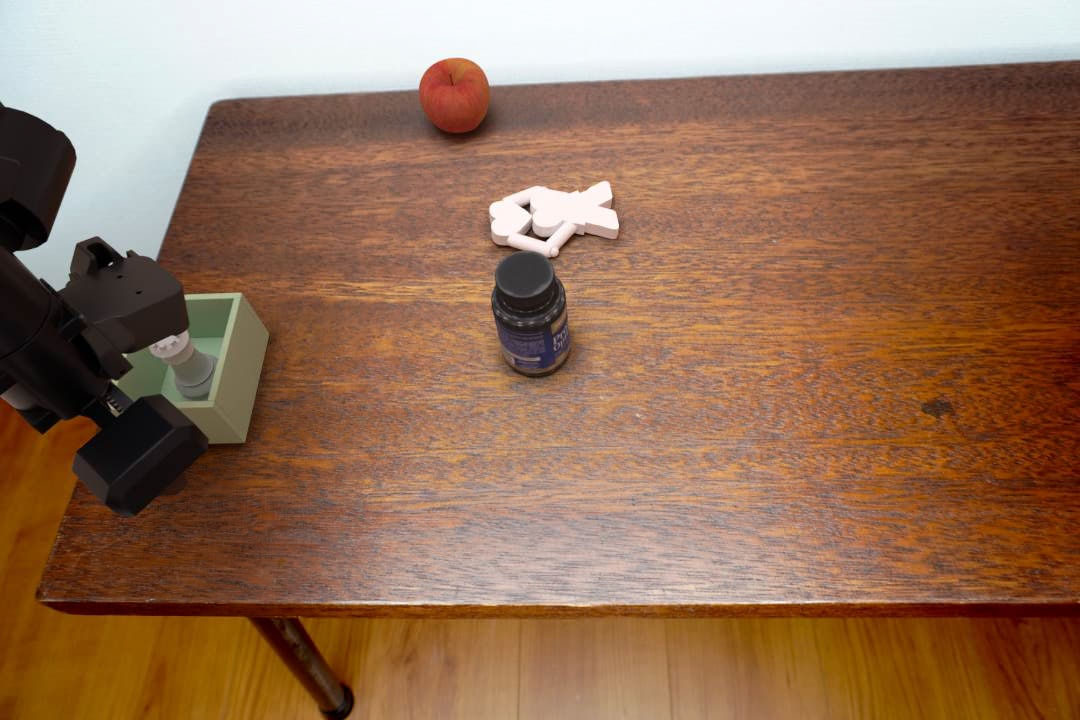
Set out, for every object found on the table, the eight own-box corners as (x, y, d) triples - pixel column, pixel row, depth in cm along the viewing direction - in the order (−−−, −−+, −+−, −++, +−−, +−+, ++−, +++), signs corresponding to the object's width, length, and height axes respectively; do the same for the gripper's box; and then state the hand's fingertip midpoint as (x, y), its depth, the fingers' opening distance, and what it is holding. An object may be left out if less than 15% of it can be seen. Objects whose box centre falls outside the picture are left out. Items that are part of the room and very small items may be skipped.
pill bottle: (571, 377, 71) (563, 304, 62) (501, 379, 71) (483, 307, 62) (570, 318, 74) (563, 240, 65) (503, 321, 75) (487, 244, 65)
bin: (245, 443, 70) (212, 407, 65) (142, 445, 71) (101, 410, 65) (269, 333, 76) (241, 292, 70) (174, 336, 77) (139, 295, 71)
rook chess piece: (190, 360, 74) (146, 311, 68) (236, 362, 74) (197, 312, 67) (174, 404, 72) (128, 357, 65) (222, 406, 72) (180, 358, 65)
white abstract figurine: (486, 195, 82) (486, 180, 80) (604, 187, 83) (606, 172, 81) (494, 264, 77) (494, 249, 76) (619, 254, 78) (622, 240, 77)
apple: (486, 93, 91) (475, 32, 84) (502, 138, 87) (492, 77, 80) (421, 110, 90) (405, 49, 83) (435, 155, 86) (419, 95, 79)
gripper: (223, 304, 42) (317, 440, 56) (36, 158, 50) (158, 308, 63) (38, 458, 38) (186, 566, 51) (-136, 274, 46) (33, 409, 59)
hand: (141, 450), depth 56 cm, fingers open, 9 cm apart
